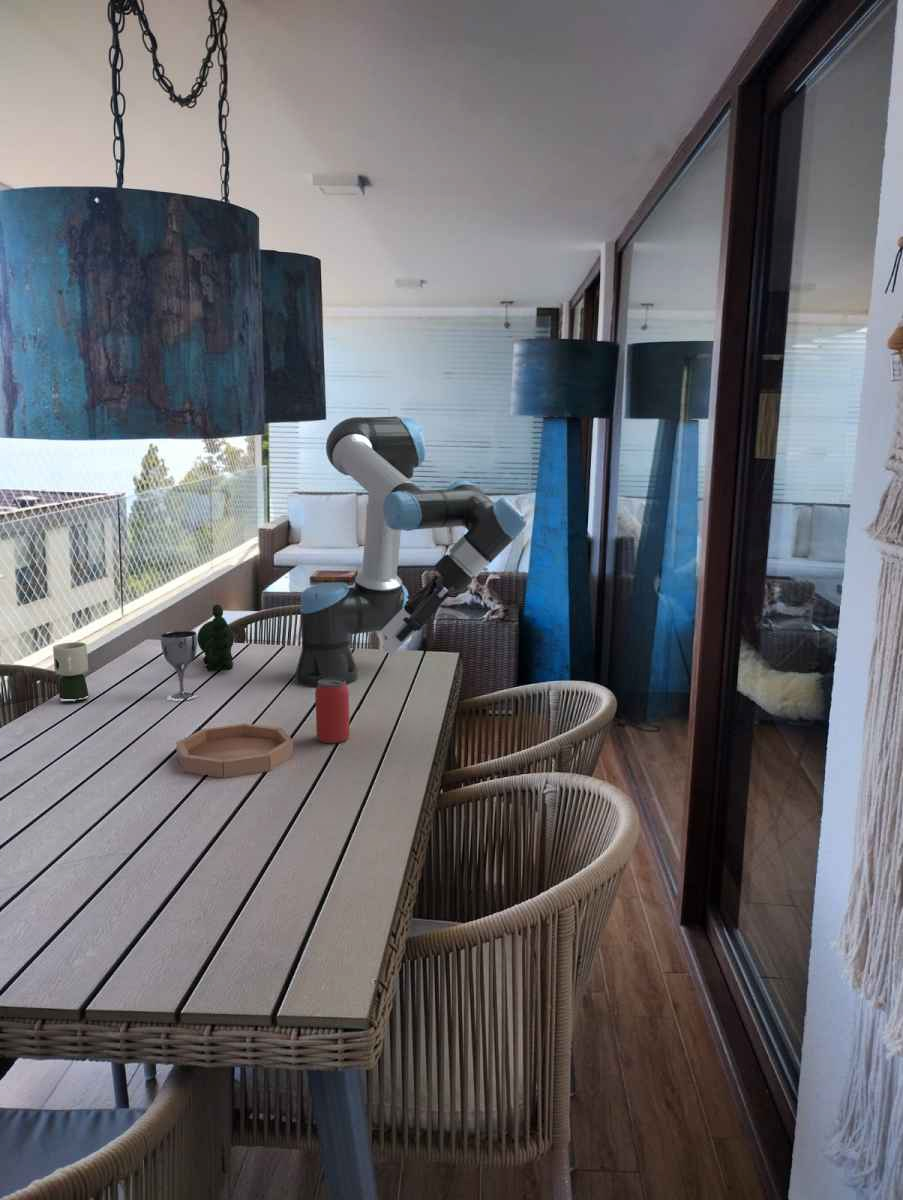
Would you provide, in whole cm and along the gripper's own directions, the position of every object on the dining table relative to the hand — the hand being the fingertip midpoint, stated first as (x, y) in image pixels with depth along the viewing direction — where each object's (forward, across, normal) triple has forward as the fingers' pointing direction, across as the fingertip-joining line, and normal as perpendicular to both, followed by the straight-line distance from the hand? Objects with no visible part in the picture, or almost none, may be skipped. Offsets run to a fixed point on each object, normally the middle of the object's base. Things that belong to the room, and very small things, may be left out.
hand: (385, 642), depth 188 cm
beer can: (+22, +1, -6) cm, 23 cm away
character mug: (+64, +32, +37) cm, 81 cm away
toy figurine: (+44, +61, +17) cm, 77 cm away
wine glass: (+47, +33, +20) cm, 61 cm away
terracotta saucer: (+34, -8, +7) cm, 36 cm away
